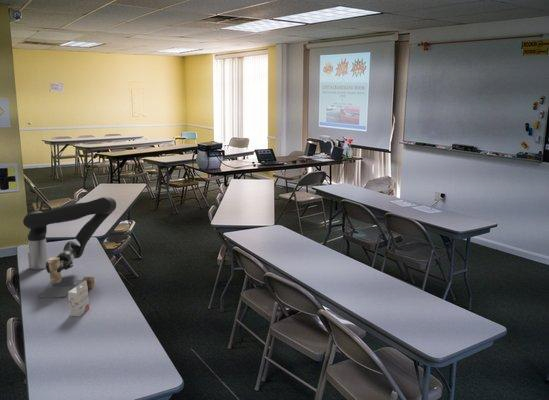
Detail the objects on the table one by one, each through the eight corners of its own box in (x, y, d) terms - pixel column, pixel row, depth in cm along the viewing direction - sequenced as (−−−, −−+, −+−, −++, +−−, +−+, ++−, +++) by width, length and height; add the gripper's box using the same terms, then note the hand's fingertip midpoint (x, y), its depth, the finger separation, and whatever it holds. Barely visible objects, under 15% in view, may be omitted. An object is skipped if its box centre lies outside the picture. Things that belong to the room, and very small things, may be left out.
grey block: (73, 295, 241) (73, 283, 240) (76, 291, 246) (76, 280, 245) (84, 294, 242) (83, 283, 241) (86, 290, 247) (86, 280, 245)
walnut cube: (82, 289, 248) (81, 280, 247) (84, 285, 253) (84, 277, 252) (91, 289, 249) (91, 280, 248) (94, 285, 254) (93, 276, 253)
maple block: (50, 282, 240) (48, 260, 238) (53, 279, 244) (51, 257, 242) (58, 282, 241) (56, 259, 238) (61, 279, 245) (59, 257, 242)
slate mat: (38, 298, 237) (38, 296, 237) (47, 287, 249) (47, 286, 249) (65, 297, 238) (65, 296, 238) (73, 287, 251) (73, 286, 251)
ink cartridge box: (80, 308, 227) (78, 278, 224) (89, 309, 226) (87, 279, 223) (69, 315, 219) (66, 285, 216) (78, 317, 218) (76, 286, 215)
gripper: (49, 253, 253) (37, 264, 237) (77, 252, 255) (67, 263, 238) (51, 266, 255) (38, 278, 238) (78, 265, 256) (68, 277, 240)
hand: (53, 270), depth 238 cm, fingers closed on maple block, 4 cm apart
